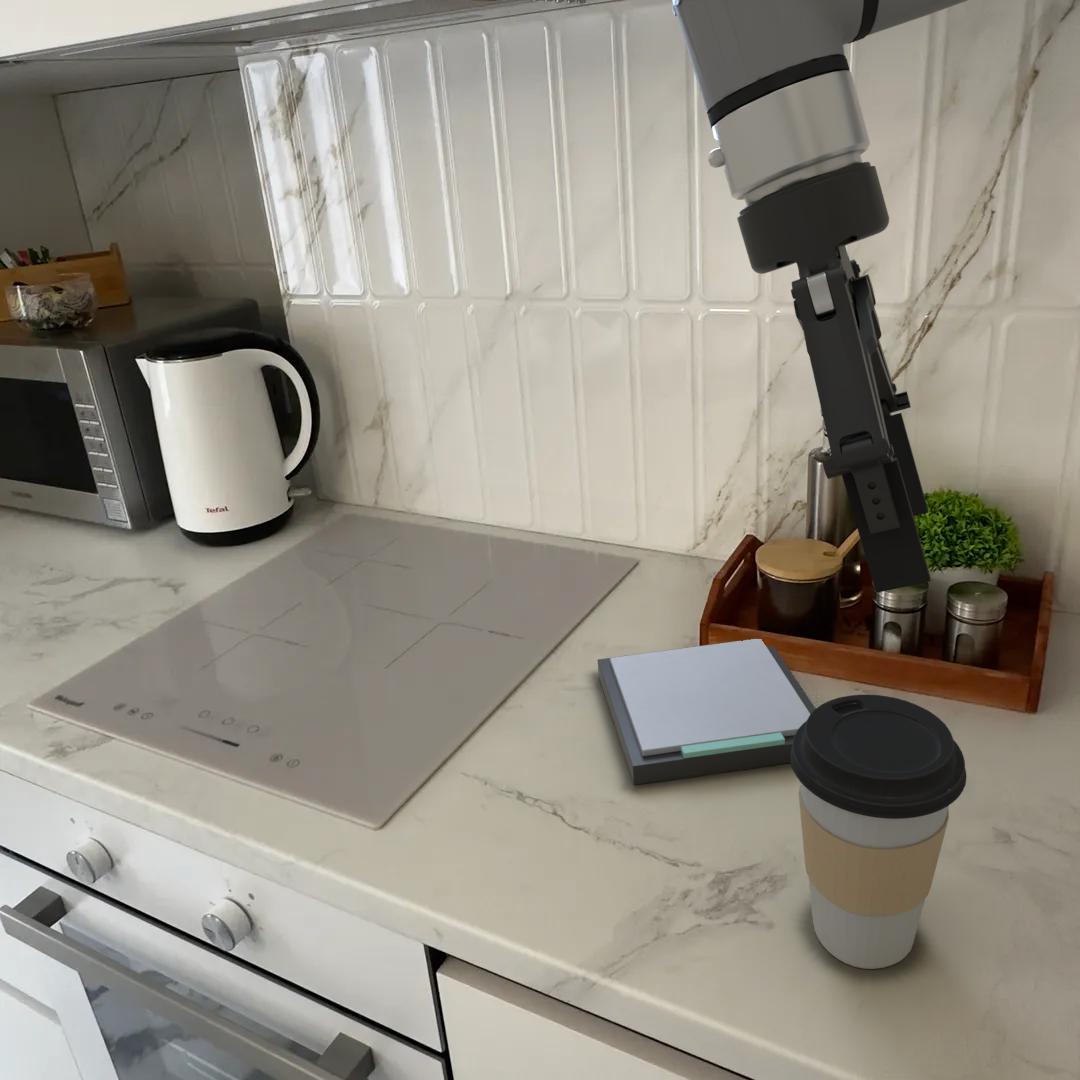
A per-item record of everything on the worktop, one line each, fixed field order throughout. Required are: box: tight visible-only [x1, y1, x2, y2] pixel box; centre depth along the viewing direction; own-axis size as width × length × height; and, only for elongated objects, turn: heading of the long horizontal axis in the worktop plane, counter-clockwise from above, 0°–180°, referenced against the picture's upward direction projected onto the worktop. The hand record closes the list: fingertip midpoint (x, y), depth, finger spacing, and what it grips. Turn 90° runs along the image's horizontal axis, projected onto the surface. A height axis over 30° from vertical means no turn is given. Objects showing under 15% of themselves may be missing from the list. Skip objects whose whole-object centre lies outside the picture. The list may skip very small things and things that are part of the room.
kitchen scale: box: [597, 638, 817, 786], centre depth 83 cm, size 16×16×2 cm
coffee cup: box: [790, 694, 967, 970], centre depth 57 cm, size 9×9×15 cm
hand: (905, 547), depth 56 cm, fingers open, 13 cm apart
